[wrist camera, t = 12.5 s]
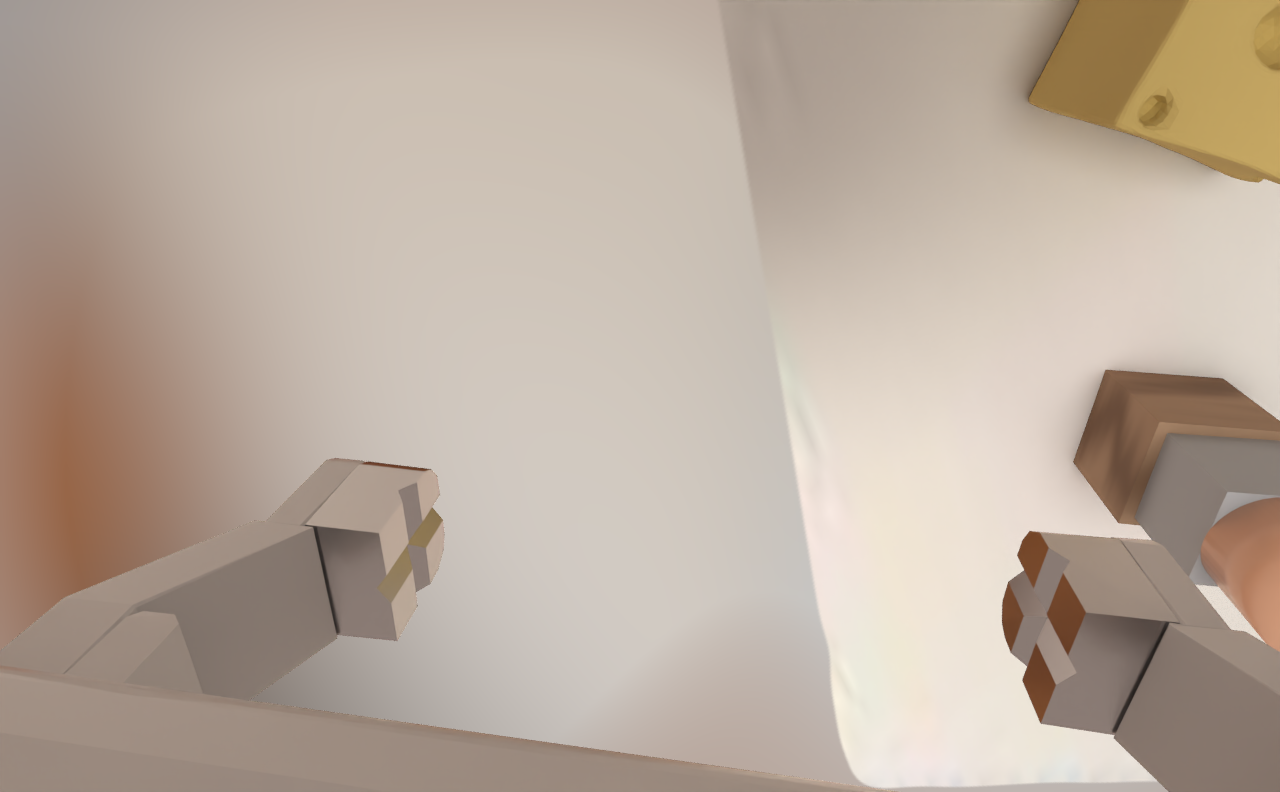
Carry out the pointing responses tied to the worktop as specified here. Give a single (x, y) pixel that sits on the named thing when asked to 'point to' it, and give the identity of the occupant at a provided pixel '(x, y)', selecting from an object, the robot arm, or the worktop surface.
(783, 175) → the worktop surface
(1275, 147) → the cheese
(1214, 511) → the grey block
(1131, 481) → the walnut block
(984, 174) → the worktop surface
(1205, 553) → the peach brown rounded dome
